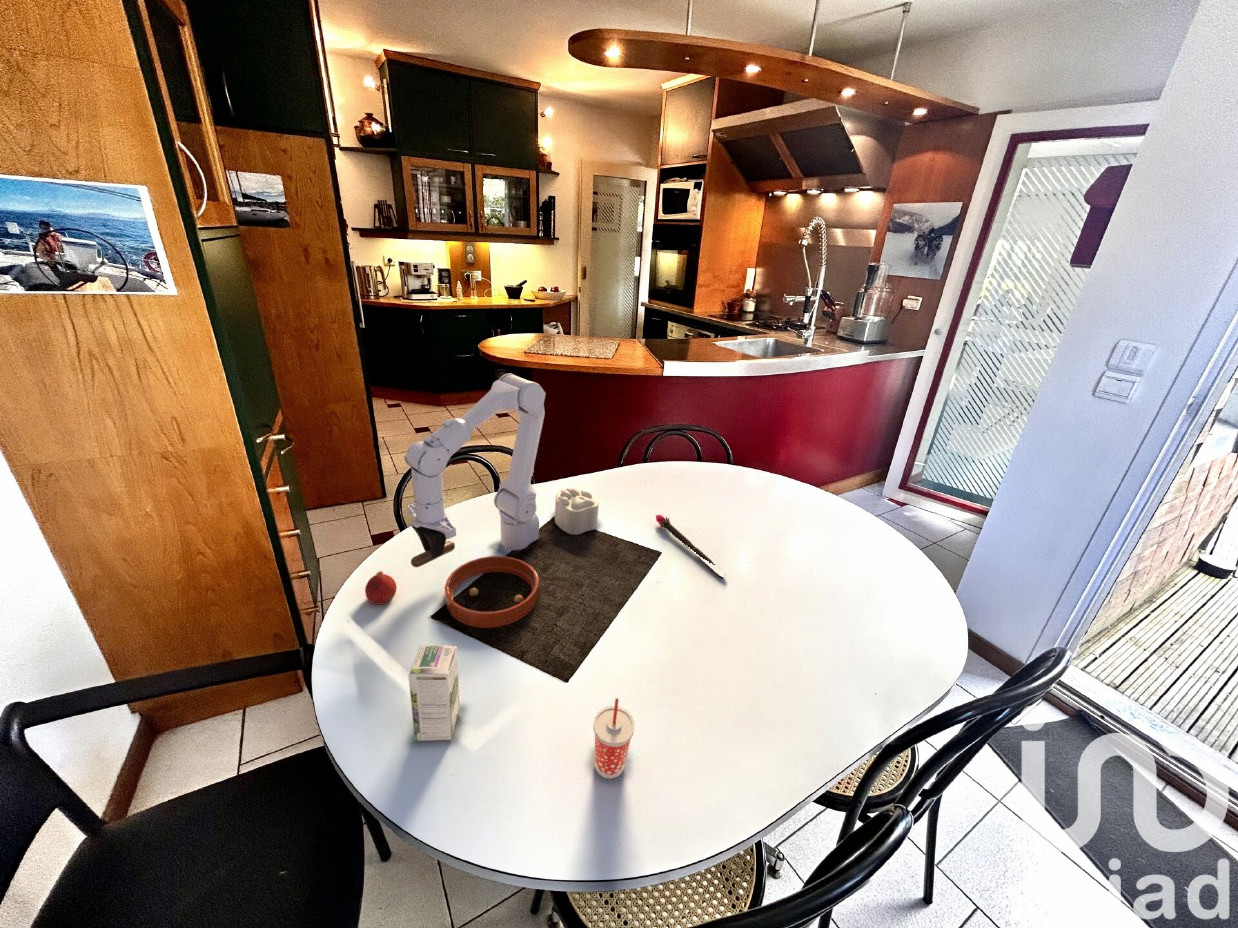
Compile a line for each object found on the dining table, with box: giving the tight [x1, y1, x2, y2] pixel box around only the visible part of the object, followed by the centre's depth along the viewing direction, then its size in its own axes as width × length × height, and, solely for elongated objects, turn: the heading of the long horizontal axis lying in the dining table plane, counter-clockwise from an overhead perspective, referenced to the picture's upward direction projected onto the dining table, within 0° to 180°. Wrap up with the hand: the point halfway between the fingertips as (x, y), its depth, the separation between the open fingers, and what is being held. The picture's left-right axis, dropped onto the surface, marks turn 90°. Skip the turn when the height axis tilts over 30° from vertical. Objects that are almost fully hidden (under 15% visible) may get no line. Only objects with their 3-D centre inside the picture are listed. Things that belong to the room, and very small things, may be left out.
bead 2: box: [513, 594, 524, 604], centre depth 106 cm, size 2×2×2 cm
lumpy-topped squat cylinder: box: [554, 487, 599, 536], centre depth 138 cm, size 10×13×9 cm
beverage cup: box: [592, 697, 636, 780], centre depth 73 cm, size 6×6×14 cm
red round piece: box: [364, 570, 398, 605], centre depth 102 cm, size 6×6×8 cm
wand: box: [655, 514, 716, 565], centre depth 131 cm, size 4×4×30 cm
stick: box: [410, 540, 456, 568], centre depth 107 cm, size 10×2×2 cm, turn 143°
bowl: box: [444, 555, 539, 629], centre depth 106 cm, size 19×19×5 cm
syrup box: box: [408, 644, 460, 742], centre depth 76 cm, size 6×6×14 cm
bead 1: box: [468, 587, 479, 597], centre depth 106 cm, size 2×2×2 cm
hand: (433, 552), depth 107 cm, fingers closed on stick, 2 cm apart
